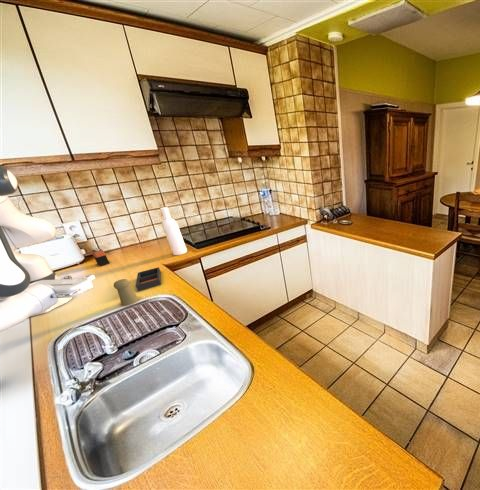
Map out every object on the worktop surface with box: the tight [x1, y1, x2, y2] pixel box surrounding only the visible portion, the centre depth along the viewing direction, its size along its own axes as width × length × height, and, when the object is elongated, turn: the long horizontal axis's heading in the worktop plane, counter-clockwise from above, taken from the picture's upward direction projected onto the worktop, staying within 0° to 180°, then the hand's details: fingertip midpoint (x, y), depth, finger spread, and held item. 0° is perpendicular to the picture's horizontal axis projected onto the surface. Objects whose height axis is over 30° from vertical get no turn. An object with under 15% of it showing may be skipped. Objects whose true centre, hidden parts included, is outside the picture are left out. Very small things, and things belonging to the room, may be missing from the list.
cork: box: [113, 278, 139, 307], centre depth 118 cm, size 6×6×11 cm
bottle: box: [159, 206, 188, 256], centre depth 165 cm, size 8×8×30 cm
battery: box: [90, 247, 110, 267], centre depth 160 cm, size 4×7×10 cm, turn 56°
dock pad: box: [135, 266, 162, 292], centre depth 137 cm, size 9×18×3 cm, turn 36°
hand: (81, 276), depth 101 cm, fingers open, 8 cm apart
